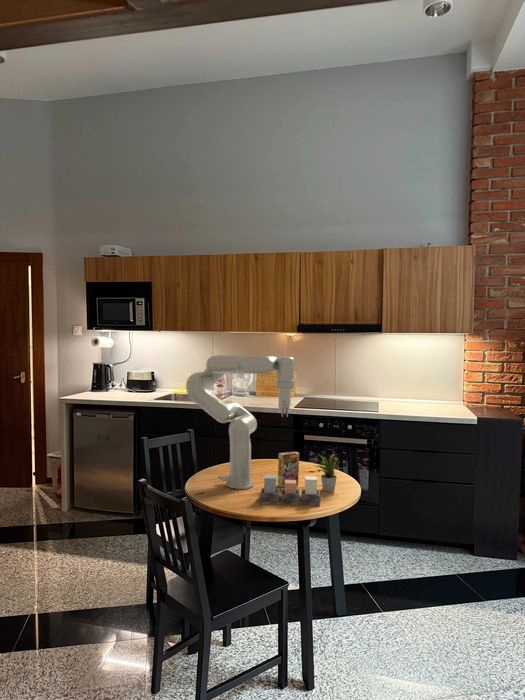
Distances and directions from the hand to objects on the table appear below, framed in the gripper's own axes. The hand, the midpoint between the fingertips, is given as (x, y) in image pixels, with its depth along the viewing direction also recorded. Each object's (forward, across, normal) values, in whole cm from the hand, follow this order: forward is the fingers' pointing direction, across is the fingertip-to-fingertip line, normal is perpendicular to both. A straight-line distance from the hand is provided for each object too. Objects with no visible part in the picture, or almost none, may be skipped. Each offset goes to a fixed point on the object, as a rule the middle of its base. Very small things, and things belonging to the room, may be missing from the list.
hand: (284, 425), depth 223 cm
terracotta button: (+28, +14, +3) cm, 31 cm away
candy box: (+29, -7, +2) cm, 30 cm away
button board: (+29, +14, +3) cm, 32 cm away
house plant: (+29, -4, +20) cm, 36 cm away
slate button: (+26, +14, -5) cm, 30 cm away
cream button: (+26, +14, +12) cm, 32 cm away
